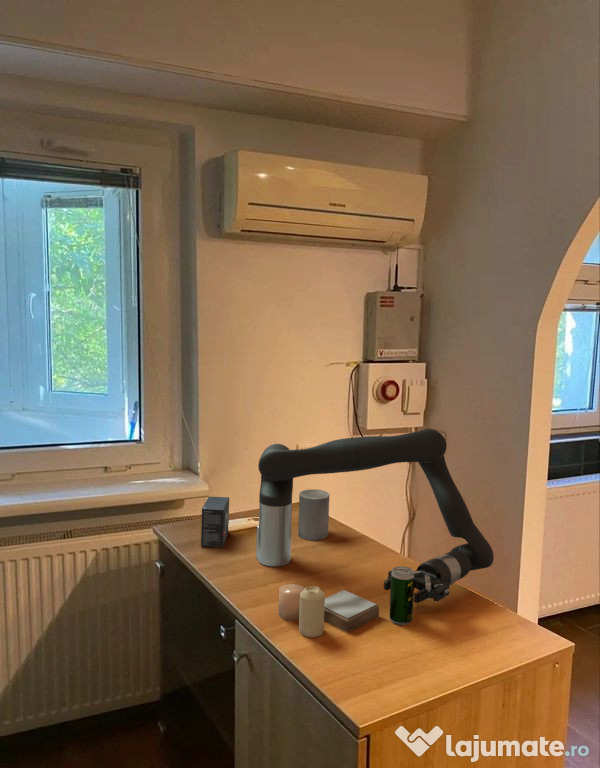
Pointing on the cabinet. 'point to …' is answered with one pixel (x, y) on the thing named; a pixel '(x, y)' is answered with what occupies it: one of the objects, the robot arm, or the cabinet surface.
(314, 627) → the candle
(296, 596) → the peach rounded cylinder
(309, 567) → the cabinet surface
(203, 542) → the small box
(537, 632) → the cabinet surface
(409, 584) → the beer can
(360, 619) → the podium
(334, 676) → the cabinet surface
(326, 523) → the pillar candle
